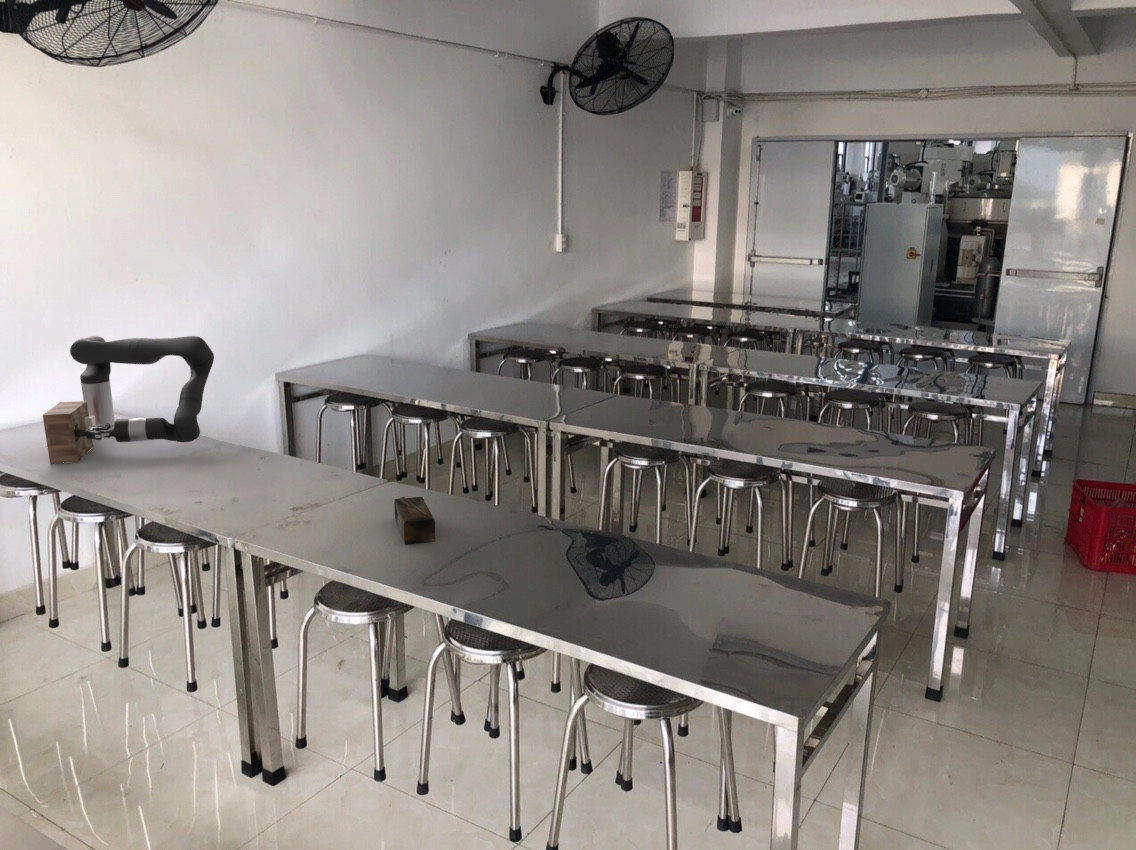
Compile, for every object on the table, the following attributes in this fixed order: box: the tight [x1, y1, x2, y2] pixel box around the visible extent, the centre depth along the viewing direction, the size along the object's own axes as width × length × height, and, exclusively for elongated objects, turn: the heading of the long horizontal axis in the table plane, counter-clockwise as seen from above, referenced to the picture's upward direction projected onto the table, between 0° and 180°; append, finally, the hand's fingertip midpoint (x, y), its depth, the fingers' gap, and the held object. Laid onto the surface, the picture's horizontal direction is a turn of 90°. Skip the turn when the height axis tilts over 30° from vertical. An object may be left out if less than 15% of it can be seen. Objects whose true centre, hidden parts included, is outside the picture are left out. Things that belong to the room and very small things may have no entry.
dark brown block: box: [393, 496, 436, 545], centre depth 227 cm, size 8×19×7 cm, turn 18°
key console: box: [42, 400, 94, 464], centre depth 290 cm, size 18×8×16 cm, turn 13°
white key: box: [84, 416, 96, 429], centre depth 296 cm, size 4×5×4 cm
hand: (73, 433), depth 285 cm, fingers closed
